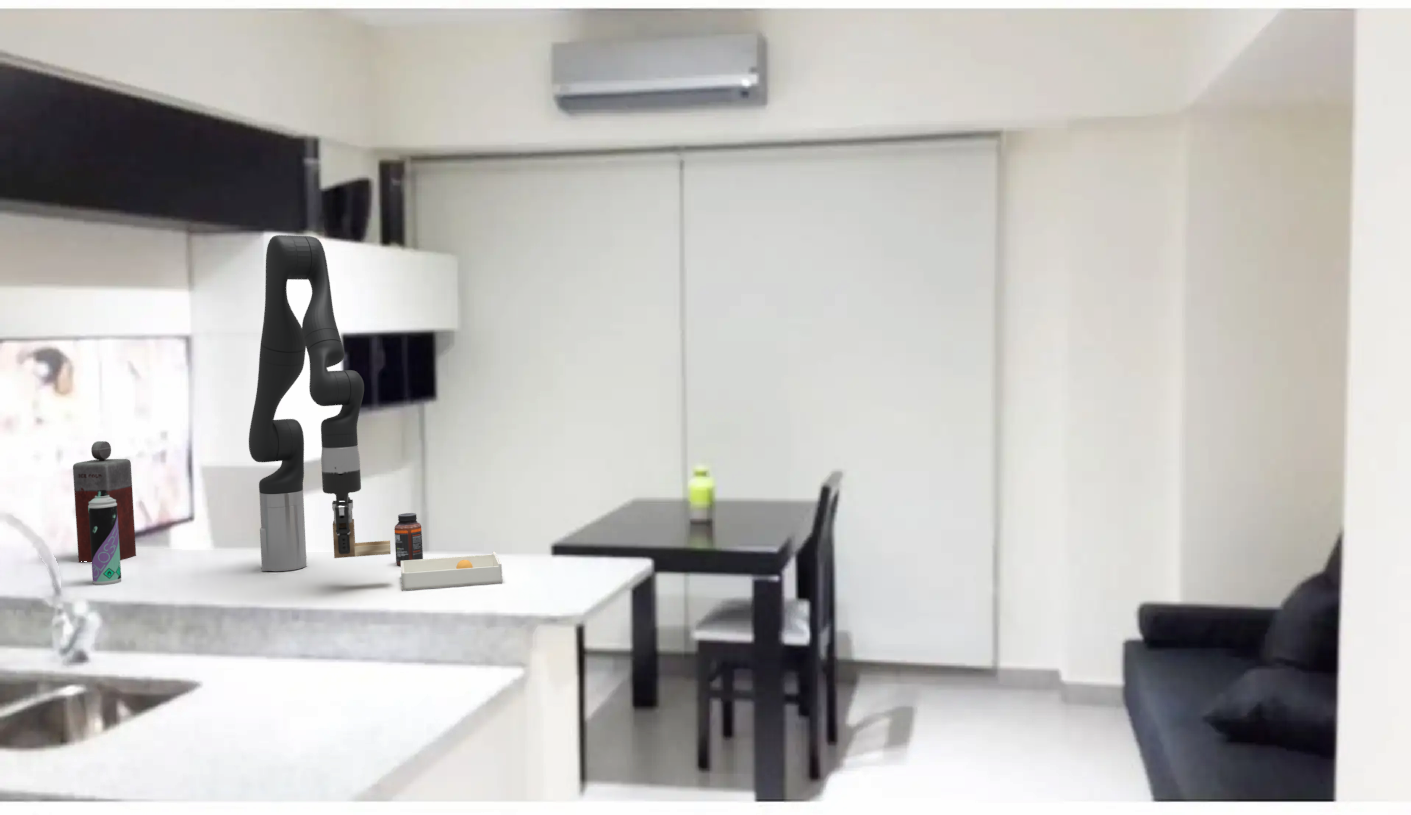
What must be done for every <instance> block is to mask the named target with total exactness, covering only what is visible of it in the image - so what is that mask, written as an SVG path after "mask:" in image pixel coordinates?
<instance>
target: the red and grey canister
mask: <svg viewBox="0 0 1411 815" xmlns="http://www.w3.org/2000/svg"><path fill="white" fill-rule="evenodd" d="M90 451H91V455H92V457H93V458H94V459H91V460H85V461H81V462H79V461H78V462H76V463H74V464H73V466H72V473H73V474H72V476H73V478H72V479H73V492H74V506H75V507H74V508H75V509H74V510H75V524H76V540H77V544H76V545H77V557H78V558H77V559H78V563H85V562H84V561H87V562H92V560H91V544H90V527H89V511H88V505H89V501H91V500H92V499H94V498H95V496H96V494H97V490H106V492H107V494H108V495H109V497H111V498H113V499H115V500H116V503H117V514H118V532H119V549H120V561H123V560H126V559H130V558H133V557H136V556H137V548H136V547H137V546H136V529H135V514H134V513H135V512H134V496H133V494H134V493H133V482H132V481H133V479H132V463H131V461H130V459H127V458H110V456H111V454H112V447H111V443H109V442H108V441H106V440H105V441H104V440H103V441H101V440H100V441H99V440H98V441H95V442H93V444H92V445H91V450H90ZM81 561H82V562H81Z"/></svg>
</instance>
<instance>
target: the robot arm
mask: <svg viewBox="0 0 1411 815" xmlns="http://www.w3.org/2000/svg"><path fill="white" fill-rule="evenodd" d="M265 255H266V256H265V289H264V290H265V295H264V296H265V302H264V311H263V313H264V314H263V323H262V324H263V325H262V331H261V339H260V348H259V359H258V360H259V361H258V372H257V373H258V375H257V383H256V384H257V386H256V394H255V400H254V406H253V411H252V416H251V421H250V426H249V432H248V434H249V435H248V449H249V454H250V456H251V459H253V460H254V461H255V462H256V463H273V462H274V463H275V462H281V464H280V467H278V469H277V470H276V471H274V472H272V473H271V474H269V475H267V476H264V477H263V478H262V479H260V480H259V482H258V492H259V512H260V513H259V514H260V515H259V516H260V528H259V537H260V540H259V541H260V558H261V572H283V571H284V572H287V571H293V570H300V569H303V568H305V567H307V566H308V565H307V546H306V543H307V542H306V526H305V522H306V521H305V502H304V499H305V498H304V477H305V466H304V464H305V456H304V455H305V454H304V453H305V440H304V438H305V437H304V431H303V428H302V425H301V423H300V421H298V420H297V419H295V418H283V419H282V418H281V419H275V416H276V412H277V409H278V407H279V404H280V403H281V401H282V399H283V398H284V396H285V395H286V394H287V393H288V391H289V390H290V389H291V388H292V386H293V385H294V384H295V382H296V381H297V380H298V378H299V377H300V375H301V373H302V372H303V369H304V365H305V360H306V358H305V357H306V351H307V355H308V359H309V361H308V362H309V386H308V387H309V394H310V397H311V399H312V401H313V402H314V403H315V404H317V405H318V406H321V407H333V406H341V408H340V411H339V413H337V414H336V415H335V416H334V415H333V416H330V417H327V418H324V419H322V421H321V424H320V437H321V438H320V439H321V454H320V455H321V456H320V461H321V462H320V464H321V465H320V466H321V483H322V484H321V486H322V491H323V493H324V494H328V495H331V494H332V495H335V500H332V503H331V504H332V505H331V506H332V512H333V521H334V523H335V524H336V534H337V536H338V548H339V554H349V553H350V537H349V535H350V527H349V524H350V523H352V519H353V509H354V500H353V499H351V497H349V494H350V493H357V492H359V491H360V490H362V480H361V461H360V460H361V458H360V452H359V446H358V443H359V442H358V441H359V439H358V422H359V421H358V420H359V416H360V410H361V407H362V402H363V399H364V392H365V383H364V380H363V378H362V376H361V375H360V373H358V371H355V370H351V369H349V370H348V369H346V370H328V368H330V367H334V366H336V365H338V364H340V363H341V362H342V361H343V360H344V359H345V348H344V346H343V342H342V339H341V336H340V332H339V329H338V325H337V323H336V319H335V318H336V317H335V313H334V308H333V299H332V290H331V282H330V276H329V269H328V263H327V262H328V261H327V258H326V257H327V256H326V252H325V250H324V246H323V244H322V242H321V241H320V240H319V239H318V238H317V237H316V236H310V235H289V234H288V235H286V234H285V235H282V234H278V235H273V236H272V237H271V238H270V239H269V241H268V243H267V247H266V254H265ZM288 280H291V281H292V280H293V281H294V280H297V281H299V280H304V281H307V280H308V282H309V284H310V287H311V295H310V296H311V297H310V300H309V304H308V306H307V309H306V311H305V314H304V316H303V318H302V324H300V322H299V320H298V319H297V317H296V315H295V313H294V311H293V310H292V307H291V306H290V303H289V299H288V295H287V294H288V292H287V286H288V285H287V284H288ZM340 524H346V527H345V528H339V525H340Z"/></svg>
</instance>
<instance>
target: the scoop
mask: <svg viewBox="0 0 1411 815" xmlns="http://www.w3.org/2000/svg"><path fill="white" fill-rule="evenodd" d="M345 527H346V524H340V525H339V528H345ZM349 527H350V535H349V537H350V553H349V554H339V548H338V536H337V534H336V524H335V523H334V520H333V523H332V538H333V555H334V556H333V558H334V559H339V558H342V559H343V558H353V557H354V558H357V557H370V556H380V555H382V556H383V555H391V540H380V541H379V540H378V541H365V542H363V541H362V542H356V538H355V537H356V536H355V535H356V534H355V519H354V518H352V523H350V524H349Z"/></svg>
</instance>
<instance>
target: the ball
mask: <svg viewBox="0 0 1411 815" xmlns="http://www.w3.org/2000/svg"><path fill="white" fill-rule="evenodd" d="M464 568H473V566H472V563H471V562H470V561H468V560H461V561H460V562H459V563H458V564H457V567H456V569H464Z"/></svg>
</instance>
